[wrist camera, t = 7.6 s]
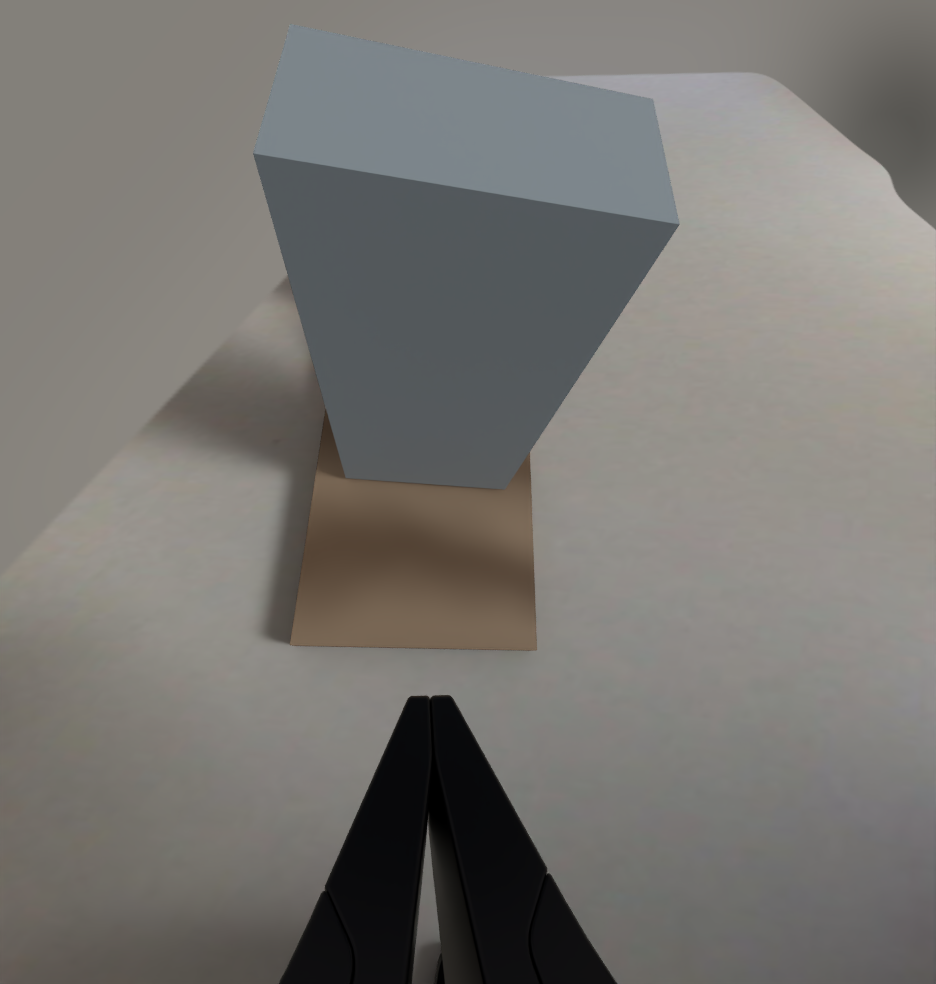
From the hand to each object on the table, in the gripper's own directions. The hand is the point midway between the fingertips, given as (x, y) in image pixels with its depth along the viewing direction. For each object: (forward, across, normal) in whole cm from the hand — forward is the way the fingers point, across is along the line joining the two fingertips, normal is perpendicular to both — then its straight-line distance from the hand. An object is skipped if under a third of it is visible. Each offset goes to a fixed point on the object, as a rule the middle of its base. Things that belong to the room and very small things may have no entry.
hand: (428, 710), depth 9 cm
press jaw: (+16, 0, 0) cm, 16 cm away
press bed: (+17, 0, +1) cm, 17 cm away
